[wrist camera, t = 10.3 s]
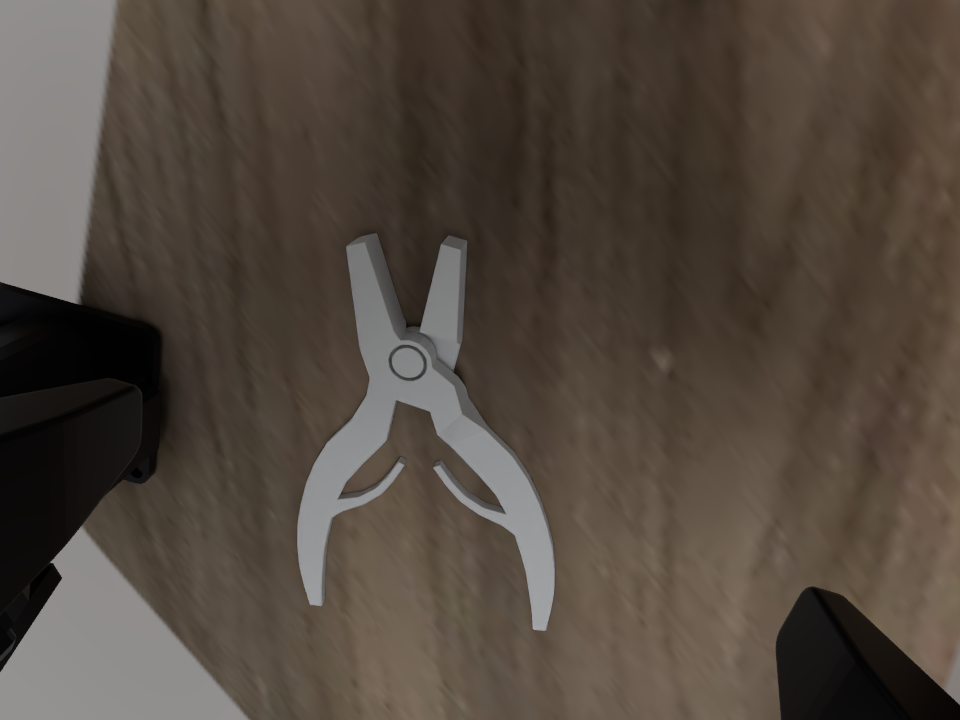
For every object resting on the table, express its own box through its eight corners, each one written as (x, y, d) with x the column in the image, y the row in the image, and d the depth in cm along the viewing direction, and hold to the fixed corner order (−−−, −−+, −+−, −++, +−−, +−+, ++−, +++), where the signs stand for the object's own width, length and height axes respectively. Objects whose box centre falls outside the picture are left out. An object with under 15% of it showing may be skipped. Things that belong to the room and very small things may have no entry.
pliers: (295, 620, 27) (243, 237, 21) (310, 591, 28) (265, 226, 22) (551, 649, 25) (571, 249, 19) (553, 617, 27) (573, 236, 21)
